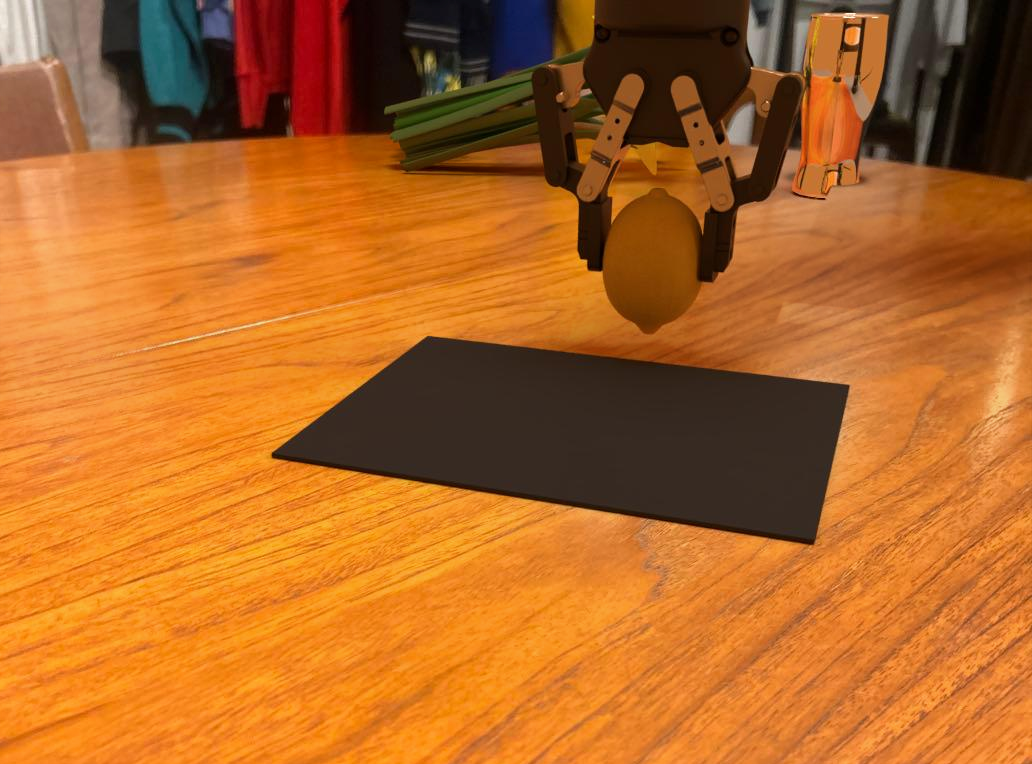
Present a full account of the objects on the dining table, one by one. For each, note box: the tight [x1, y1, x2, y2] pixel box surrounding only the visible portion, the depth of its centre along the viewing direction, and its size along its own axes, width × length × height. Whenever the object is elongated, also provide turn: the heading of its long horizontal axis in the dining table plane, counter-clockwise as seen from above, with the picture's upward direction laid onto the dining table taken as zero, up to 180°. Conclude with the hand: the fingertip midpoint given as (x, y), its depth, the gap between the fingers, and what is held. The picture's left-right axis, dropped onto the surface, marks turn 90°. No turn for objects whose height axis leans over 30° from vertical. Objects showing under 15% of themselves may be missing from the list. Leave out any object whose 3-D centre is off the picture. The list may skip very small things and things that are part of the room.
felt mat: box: [271, 335, 851, 545], centre depth 53 cm, size 24×18×1 cm
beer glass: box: [791, 12, 890, 198], centre depth 98 cm, size 7×7×15 cm
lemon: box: [601, 187, 703, 336], centre depth 59 cm, size 6×6×8 cm
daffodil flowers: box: [384, 14, 658, 176], centre depth 108 cm, size 17×15×35 cm
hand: (653, 272), depth 60 cm, fingers closed on lemon, 5 cm apart
